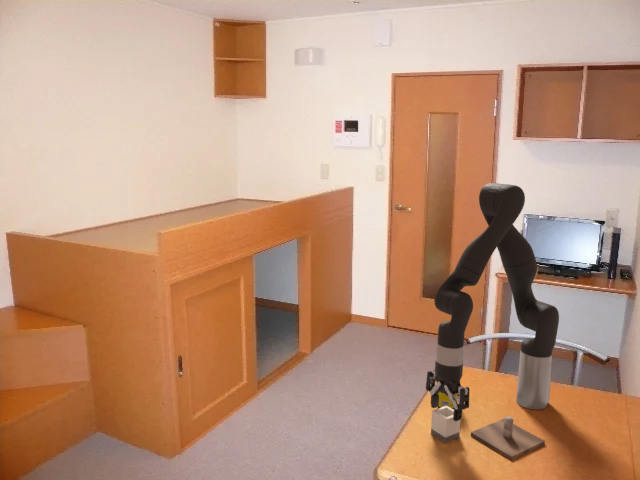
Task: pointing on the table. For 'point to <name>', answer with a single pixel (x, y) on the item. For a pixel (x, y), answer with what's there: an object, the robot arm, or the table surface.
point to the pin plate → (507, 438)
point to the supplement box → (445, 401)
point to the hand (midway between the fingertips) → (445, 413)
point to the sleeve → (445, 424)
